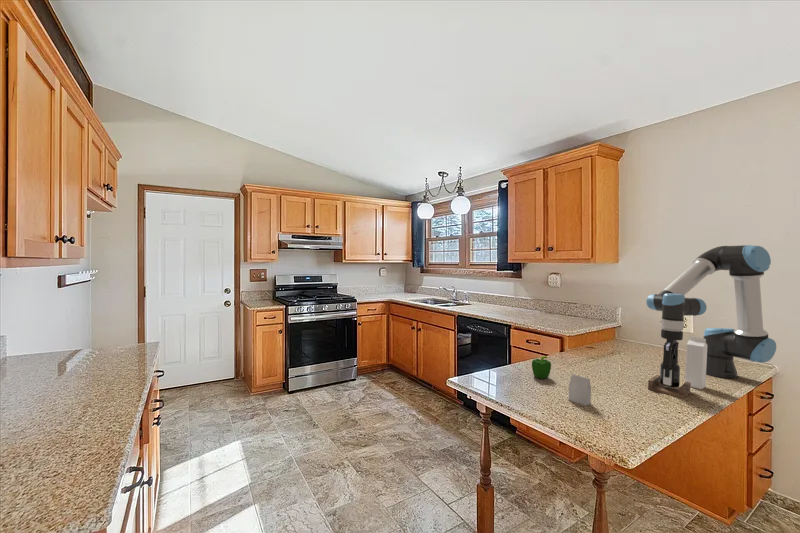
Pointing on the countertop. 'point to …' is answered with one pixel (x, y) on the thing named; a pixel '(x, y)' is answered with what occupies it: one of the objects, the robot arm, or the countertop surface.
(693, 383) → the milk
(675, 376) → the supplement bottle
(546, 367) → the bell pepper
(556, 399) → the countertop surface
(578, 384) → the grey upright block
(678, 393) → the u cradle
